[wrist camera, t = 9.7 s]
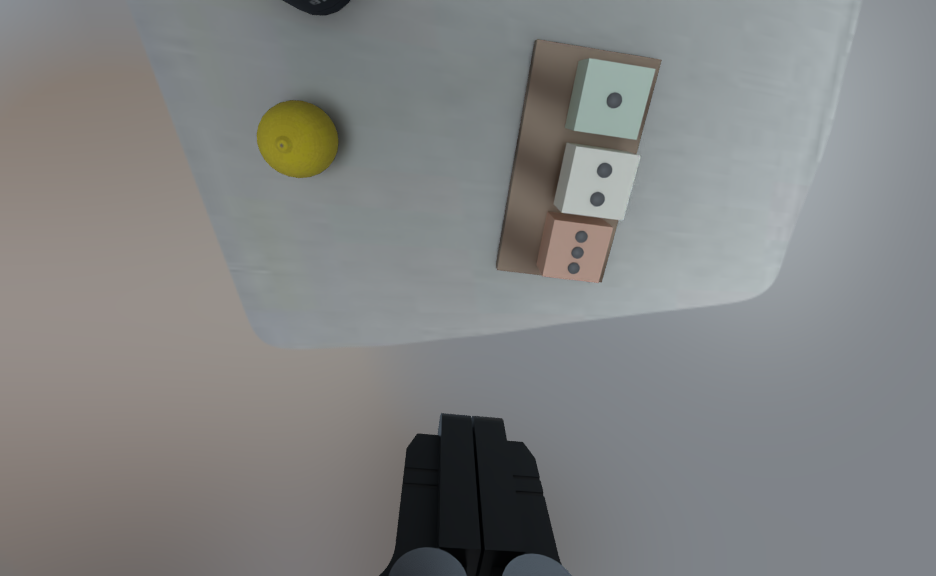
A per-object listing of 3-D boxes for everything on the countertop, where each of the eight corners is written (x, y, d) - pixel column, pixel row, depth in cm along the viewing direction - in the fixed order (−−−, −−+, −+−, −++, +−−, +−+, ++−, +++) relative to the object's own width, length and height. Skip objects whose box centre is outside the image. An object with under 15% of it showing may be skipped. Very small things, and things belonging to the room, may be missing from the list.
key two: (566, 142, 37) (577, 146, 34) (626, 151, 37) (642, 156, 34) (553, 204, 39) (562, 213, 36) (610, 211, 39) (624, 221, 36)
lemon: (275, 98, 37) (233, 99, 30) (345, 101, 38) (320, 103, 30) (283, 168, 39) (246, 185, 32) (349, 170, 40) (326, 187, 32)
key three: (547, 211, 41) (555, 220, 38) (602, 218, 41) (614, 228, 38) (536, 264, 43) (542, 277, 40) (588, 270, 43) (599, 283, 40)
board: (534, 40, 36) (537, 39, 35) (655, 60, 37) (661, 59, 36) (495, 265, 44) (497, 270, 43) (597, 277, 45) (601, 282, 43)
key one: (578, 60, 36) (590, 57, 33) (639, 70, 37) (656, 68, 34) (564, 127, 38) (574, 130, 35) (623, 136, 38) (637, 140, 35)
